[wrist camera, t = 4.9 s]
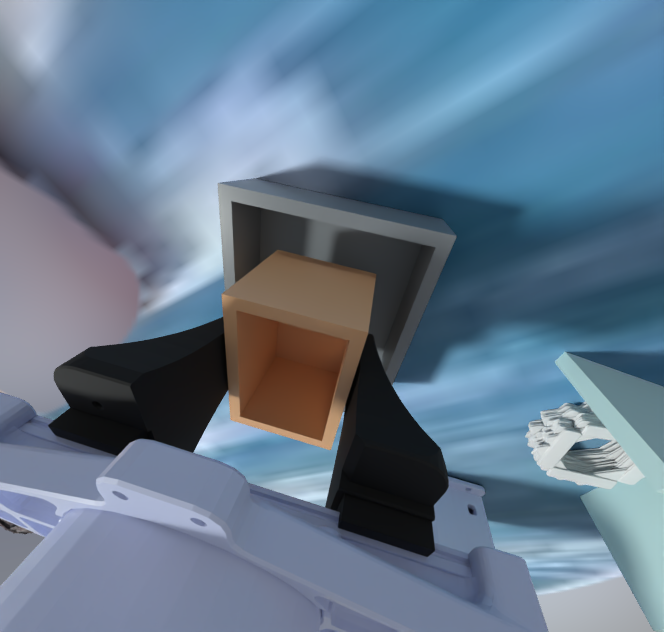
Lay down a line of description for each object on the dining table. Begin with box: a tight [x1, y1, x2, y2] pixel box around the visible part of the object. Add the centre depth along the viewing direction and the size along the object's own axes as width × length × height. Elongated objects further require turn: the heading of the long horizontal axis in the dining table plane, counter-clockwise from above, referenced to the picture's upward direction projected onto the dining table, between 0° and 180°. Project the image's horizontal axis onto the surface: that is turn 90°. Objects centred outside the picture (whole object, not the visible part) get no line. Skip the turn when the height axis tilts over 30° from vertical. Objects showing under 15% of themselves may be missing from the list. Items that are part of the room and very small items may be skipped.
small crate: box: [222, 250, 376, 450], centre depth 12 cm, size 5×7×5 cm
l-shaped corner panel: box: [525, 352, 664, 632], centre depth 15 cm, size 12×12×8 cm
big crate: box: [218, 178, 457, 412], centre depth 15 cm, size 10×12×4 cm
